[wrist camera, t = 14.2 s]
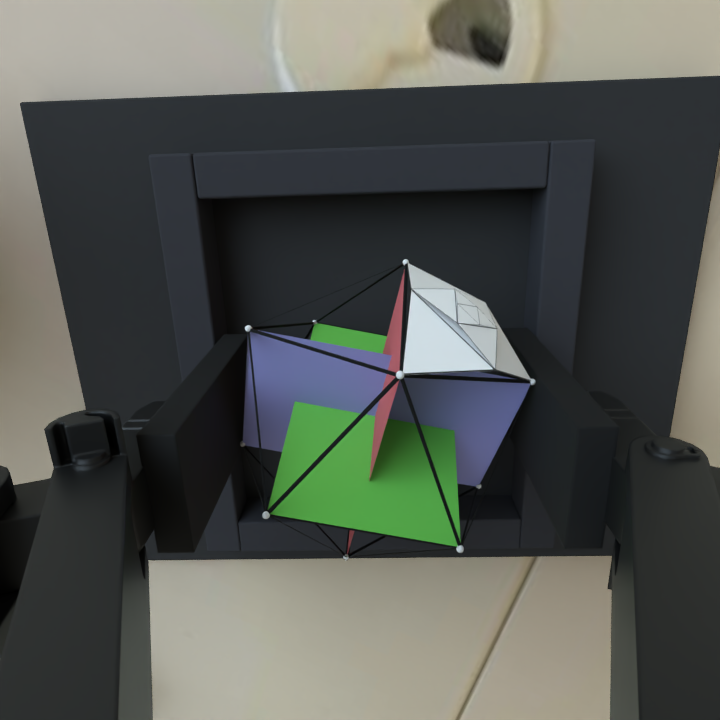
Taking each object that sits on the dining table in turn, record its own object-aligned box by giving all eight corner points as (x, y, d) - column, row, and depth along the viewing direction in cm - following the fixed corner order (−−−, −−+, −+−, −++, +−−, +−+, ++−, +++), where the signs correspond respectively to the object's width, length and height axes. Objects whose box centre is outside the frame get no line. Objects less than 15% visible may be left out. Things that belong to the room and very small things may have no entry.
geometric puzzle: (450, 575, 17) (570, 613, 9) (228, 537, 17) (165, 545, 9) (474, 355, 19) (587, 241, 12) (278, 318, 19) (261, 176, 11)
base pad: (712, 80, 16) (769, 66, 14) (637, 538, 21) (669, 585, 19) (38, 105, 17) (-17, 96, 14) (129, 544, 22) (99, 589, 20)
